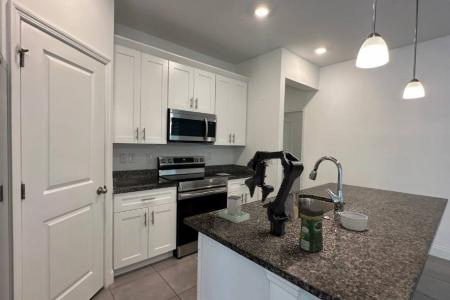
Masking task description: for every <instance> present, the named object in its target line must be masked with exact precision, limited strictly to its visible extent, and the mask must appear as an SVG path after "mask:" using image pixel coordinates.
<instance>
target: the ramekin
mask: <svg viewBox="0 0 450 300" xmlns="http://www.w3.org/2000/svg"><path fill="white" fill-rule="evenodd" d="M368 220H369V217H368V216H367V215H365V214H363V213H362V214H361V213H359V212H353V211H341V212H340V222H341V223H340V224H341V225H342V226H343V228H346V229H348V230H351V231H354V232H355V231H357V232H363V231H365V230H366V229H367V225H368Z"/></svg>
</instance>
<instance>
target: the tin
mask: <svg viewBox="0 0 450 300" xmlns="http://www.w3.org/2000/svg"><path fill="white" fill-rule="evenodd" d="M241 205H242V196H240V195H239V196H238V195H230V196H227V205H226V206H227V209H226V210H227V214H228V215H231V216H234V217H236V218H237V217H240V214H241V212H242V211H241V210H242V209H241V208H242V206H241Z"/></svg>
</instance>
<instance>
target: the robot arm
mask: <svg viewBox="0 0 450 300" xmlns="http://www.w3.org/2000/svg"><path fill="white" fill-rule="evenodd" d="M278 159H279V160H280V164H281V166H282V168H283V171H282V173H283V179H282V181H281V183H280V186H279V189H278V191H277V194H276V196H275V199H273V200H269V201H268V205H267V206H266V213H267V220H268V221H269V223H270V224H269V231H268V233H269V234H271V235H273V236H276V237H279V238H280V237H283V236H285V235H286V234H287V232H286V222H289V220H288V216H287V214H286V212H285V201H286V199H287V197H288V194H289V192H290V191H292V187H293V185H294V183H295V181H296V180H297V179H298V178H299V177H300V176H301V175H302V174H303V172H304V170H305V166H304V164H303V162H302V161H301V160H300V159H299V158H298V157H296V156H295V155H294V154H292V152H290V150H279V151H267V150H257V151H256V152H255V153H254V155H253V156H252V158H250V159H249V161H248V162H247V164H246V167H247V170H250V171H253V172H254V173H253V174H252V176H251V177H248V178H247V179H245V180H244V185H245V186H246V187H247V188H248V191H249V194H250V198H251V199H252V198H253V197H254V194H255V191H256V188H259V189H261V190H260V192H261V203H262V204H264V202H265V201H266V199H267V198H268V196H269V195H270V194H272V193H273V192H275V187H274V185H270V184H266V182H265V179H266V178H267V174H266V173H267V172H266V171H267V167H269V166H270V165H269V164H268V163H267V162H268V161H271V160H278Z"/></svg>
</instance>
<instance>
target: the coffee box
mask: <svg viewBox="0 0 450 300" xmlns="http://www.w3.org/2000/svg"><path fill="white" fill-rule="evenodd" d="M299 197H300V195H299V191H295V190H294V191H293V190H290V192H289V194H288V197H287V199H286V201H285V212H286V214H287V216H288V221H289V220H290V221H291V222H294V221H295V220H296V219H298V218H299Z"/></svg>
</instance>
